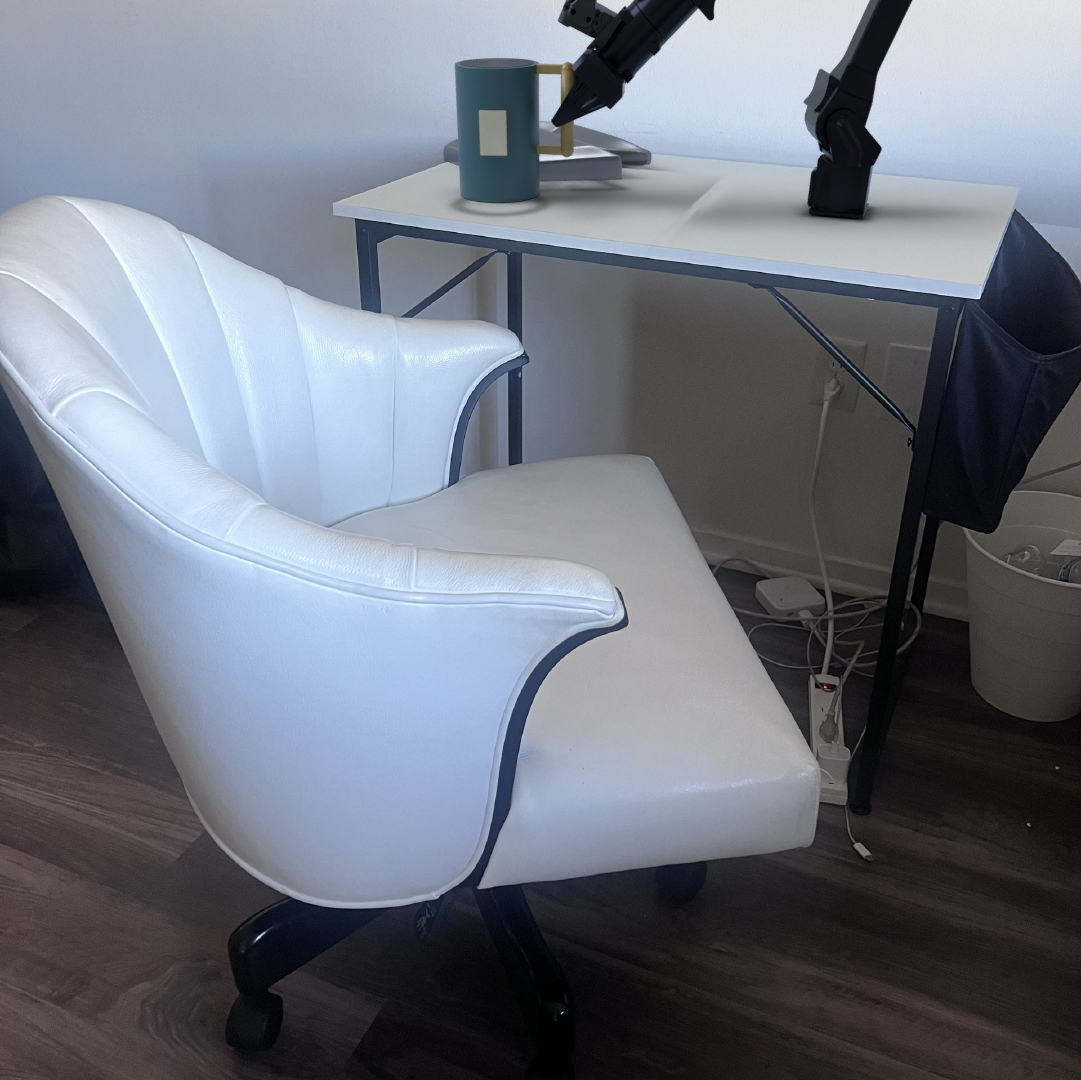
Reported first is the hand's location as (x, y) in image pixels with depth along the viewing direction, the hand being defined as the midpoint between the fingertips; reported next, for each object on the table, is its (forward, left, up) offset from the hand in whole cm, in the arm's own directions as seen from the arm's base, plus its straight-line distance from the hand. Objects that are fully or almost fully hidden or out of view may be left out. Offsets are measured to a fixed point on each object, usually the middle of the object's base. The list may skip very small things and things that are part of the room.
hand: (555, 122), depth 124 cm
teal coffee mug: (+5, +1, -9) cm, 10 cm away
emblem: (+9, -19, -10) cm, 24 cm away
